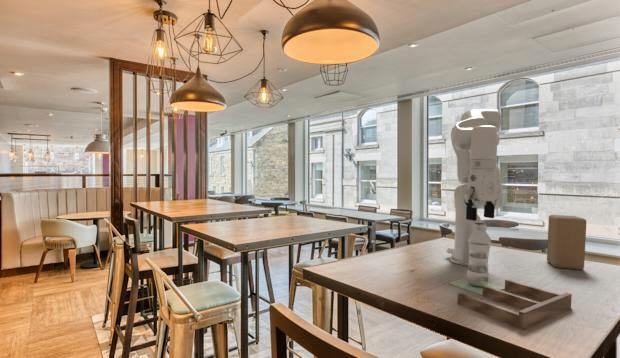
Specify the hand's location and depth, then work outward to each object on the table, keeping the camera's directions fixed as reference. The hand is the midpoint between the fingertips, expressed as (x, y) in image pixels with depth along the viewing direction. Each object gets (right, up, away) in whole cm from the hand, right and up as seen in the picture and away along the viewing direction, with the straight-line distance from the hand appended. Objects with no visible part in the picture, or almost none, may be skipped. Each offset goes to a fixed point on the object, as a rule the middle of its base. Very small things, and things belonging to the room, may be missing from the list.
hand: (480, 218), depth 108 cm
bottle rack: (+1, -22, -15) cm, 27 cm away
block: (+48, -23, +28) cm, 60 cm away
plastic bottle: (-1, -22, 0) cm, 22 cm away
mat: (-1, -22, 0) cm, 22 cm away
